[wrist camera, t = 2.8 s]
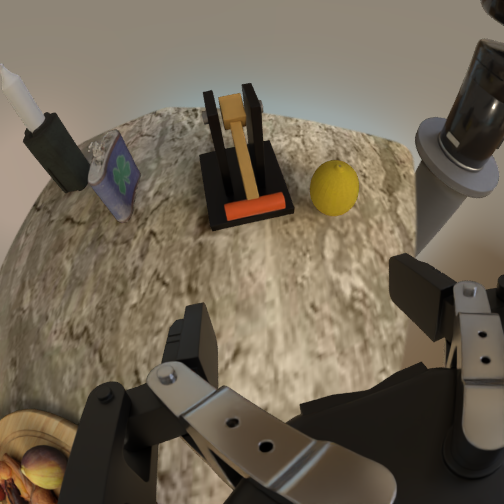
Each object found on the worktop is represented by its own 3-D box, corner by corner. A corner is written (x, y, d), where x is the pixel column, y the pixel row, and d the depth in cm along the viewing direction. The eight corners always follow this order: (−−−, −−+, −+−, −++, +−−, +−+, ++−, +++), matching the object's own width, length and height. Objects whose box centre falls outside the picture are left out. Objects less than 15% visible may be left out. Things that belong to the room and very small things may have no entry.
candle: (94, 165, 43) (22, 46, 20) (85, 189, 41) (0, 67, 18) (71, 170, 43) (-2, 61, 20) (62, 194, 41) (-23, 83, 18)
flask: (131, 223, 37) (93, 171, 27) (112, 224, 37) (72, 176, 27) (143, 169, 41) (116, 116, 31) (126, 172, 41) (97, 121, 31)
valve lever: (283, 210, 28) (287, 206, 26) (228, 222, 28) (227, 219, 26) (255, 101, 29) (256, 90, 26) (204, 111, 28) (202, 100, 26)
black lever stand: (293, 213, 36) (300, 126, 23) (212, 231, 35) (182, 149, 23) (269, 145, 41) (265, 63, 28) (200, 160, 41) (177, 80, 28)
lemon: (299, 198, 37) (304, 153, 29) (338, 186, 37) (349, 142, 30) (319, 234, 34) (329, 193, 27) (358, 220, 35) (376, 179, 28)
